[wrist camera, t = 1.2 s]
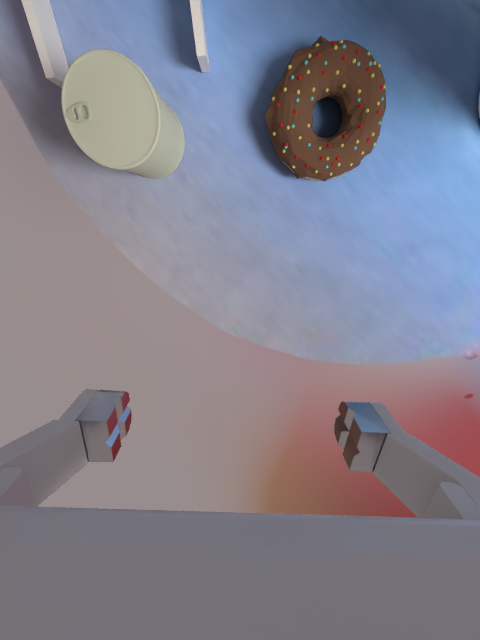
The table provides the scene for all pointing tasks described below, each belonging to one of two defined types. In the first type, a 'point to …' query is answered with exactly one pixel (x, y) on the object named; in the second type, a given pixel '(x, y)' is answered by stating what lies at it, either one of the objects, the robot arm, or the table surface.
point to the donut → (319, 82)
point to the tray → (52, 49)
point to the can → (120, 116)
